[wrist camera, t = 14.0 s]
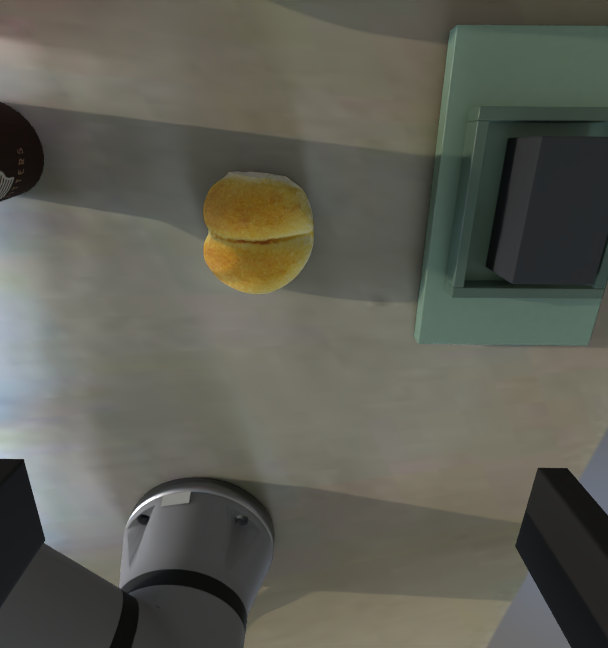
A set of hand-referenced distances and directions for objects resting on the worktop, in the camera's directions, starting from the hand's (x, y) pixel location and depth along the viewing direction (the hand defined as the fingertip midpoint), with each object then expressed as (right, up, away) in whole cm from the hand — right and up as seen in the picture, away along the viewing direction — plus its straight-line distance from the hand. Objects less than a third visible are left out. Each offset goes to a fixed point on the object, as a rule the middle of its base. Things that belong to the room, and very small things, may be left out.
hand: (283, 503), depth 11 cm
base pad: (+17, +14, +21) cm, 30 cm away
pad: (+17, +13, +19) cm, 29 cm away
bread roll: (-3, +12, +22) cm, 25 cm away
